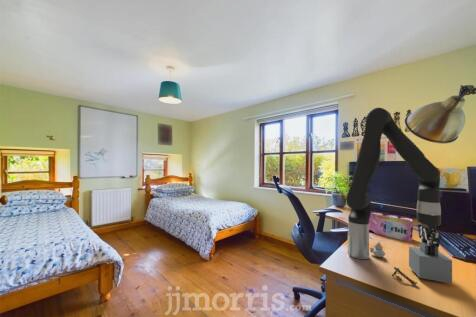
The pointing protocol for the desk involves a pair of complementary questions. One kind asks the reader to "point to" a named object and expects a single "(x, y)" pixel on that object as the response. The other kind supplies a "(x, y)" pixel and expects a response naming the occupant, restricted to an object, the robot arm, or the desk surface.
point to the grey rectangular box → (430, 264)
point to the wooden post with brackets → (403, 276)
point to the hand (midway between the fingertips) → (428, 252)
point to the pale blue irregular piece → (377, 250)
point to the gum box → (391, 225)
